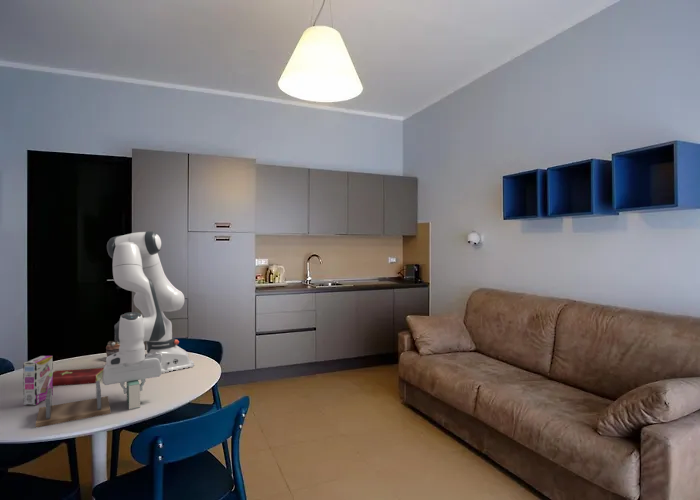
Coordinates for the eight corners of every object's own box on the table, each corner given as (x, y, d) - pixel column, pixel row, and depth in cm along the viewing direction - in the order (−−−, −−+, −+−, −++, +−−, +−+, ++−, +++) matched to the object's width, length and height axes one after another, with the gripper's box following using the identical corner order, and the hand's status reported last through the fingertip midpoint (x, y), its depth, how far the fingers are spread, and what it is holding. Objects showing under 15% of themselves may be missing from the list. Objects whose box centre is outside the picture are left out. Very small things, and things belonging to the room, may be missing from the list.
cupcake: (114, 362, 225) (114, 343, 225) (101, 360, 229) (101, 341, 229) (130, 357, 234) (130, 339, 234) (118, 355, 238) (118, 337, 238)
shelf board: (108, 399, 173) (107, 396, 172) (110, 413, 159) (110, 409, 159) (39, 411, 161) (39, 407, 161) (35, 427, 147) (35, 423, 147)
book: (136, 398, 174) (136, 375, 174) (140, 407, 164) (139, 383, 164) (126, 400, 172) (126, 377, 172) (129, 409, 162) (128, 385, 162)
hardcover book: (97, 384, 193) (96, 374, 193) (43, 388, 188) (43, 378, 188) (106, 375, 204) (106, 366, 204) (56, 379, 200) (55, 370, 200)
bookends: (99, 398, 170) (99, 380, 170) (101, 409, 159) (100, 390, 158) (48, 407, 161) (47, 388, 161) (46, 419, 150) (45, 399, 150)
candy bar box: (37, 405, 167) (35, 362, 167) (23, 406, 167) (21, 363, 166) (54, 395, 178) (53, 355, 178) (41, 395, 178) (40, 355, 177)
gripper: (160, 350, 176) (161, 384, 176) (101, 357, 165) (102, 394, 165) (162, 353, 170) (163, 389, 171) (102, 361, 160) (103, 399, 160)
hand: (133, 391), depth 168 cm, fingers closed on book, 3 cm apart
